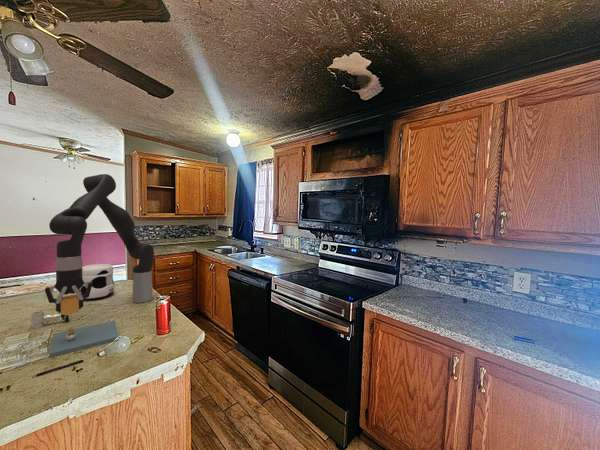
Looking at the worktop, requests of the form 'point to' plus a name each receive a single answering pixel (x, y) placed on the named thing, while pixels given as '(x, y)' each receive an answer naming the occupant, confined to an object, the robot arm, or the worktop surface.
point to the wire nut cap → (69, 304)
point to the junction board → (83, 338)
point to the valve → (44, 318)
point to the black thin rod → (57, 368)
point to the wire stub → (71, 335)
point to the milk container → (98, 280)
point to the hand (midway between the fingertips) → (70, 310)
